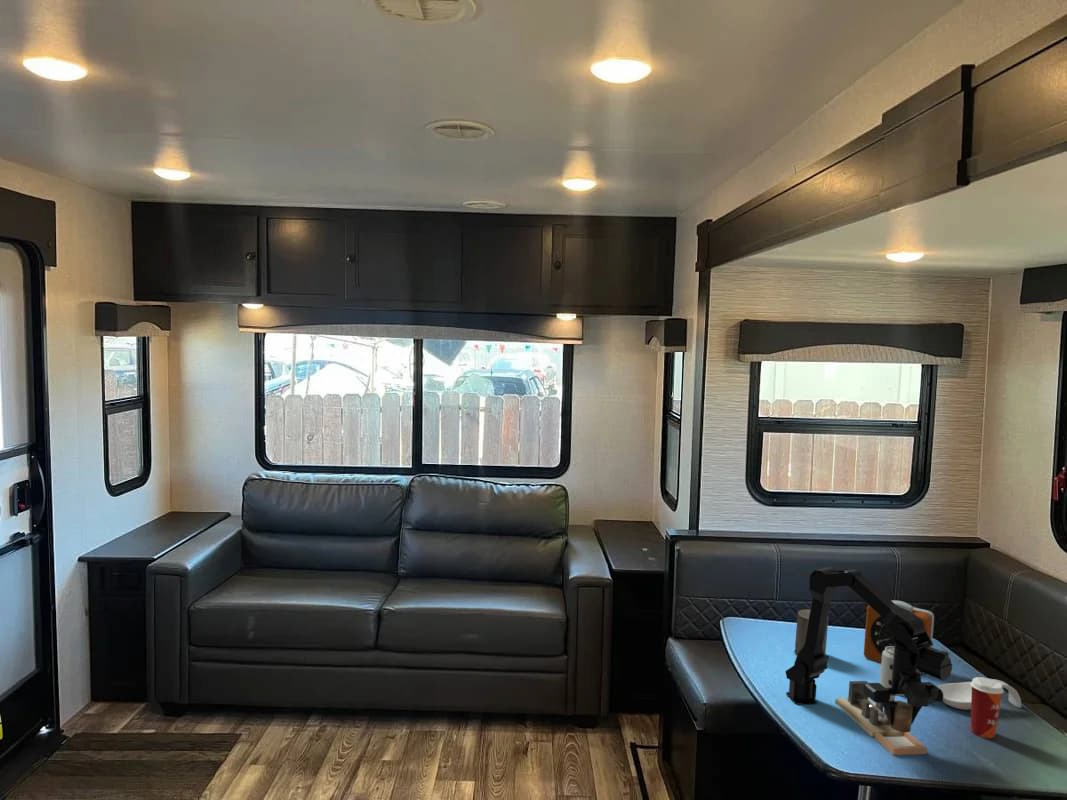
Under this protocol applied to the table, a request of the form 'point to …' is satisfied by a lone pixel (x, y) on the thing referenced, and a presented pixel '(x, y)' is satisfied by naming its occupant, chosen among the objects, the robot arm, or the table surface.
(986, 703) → the paper cup
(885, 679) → the can
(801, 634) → the pillar candle
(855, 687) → the shaft
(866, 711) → the beige piece
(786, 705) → the table surface
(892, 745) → the picture frame
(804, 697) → the robot arm
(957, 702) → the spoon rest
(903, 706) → the brown dome-ended cylinder
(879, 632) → the alarm clock
